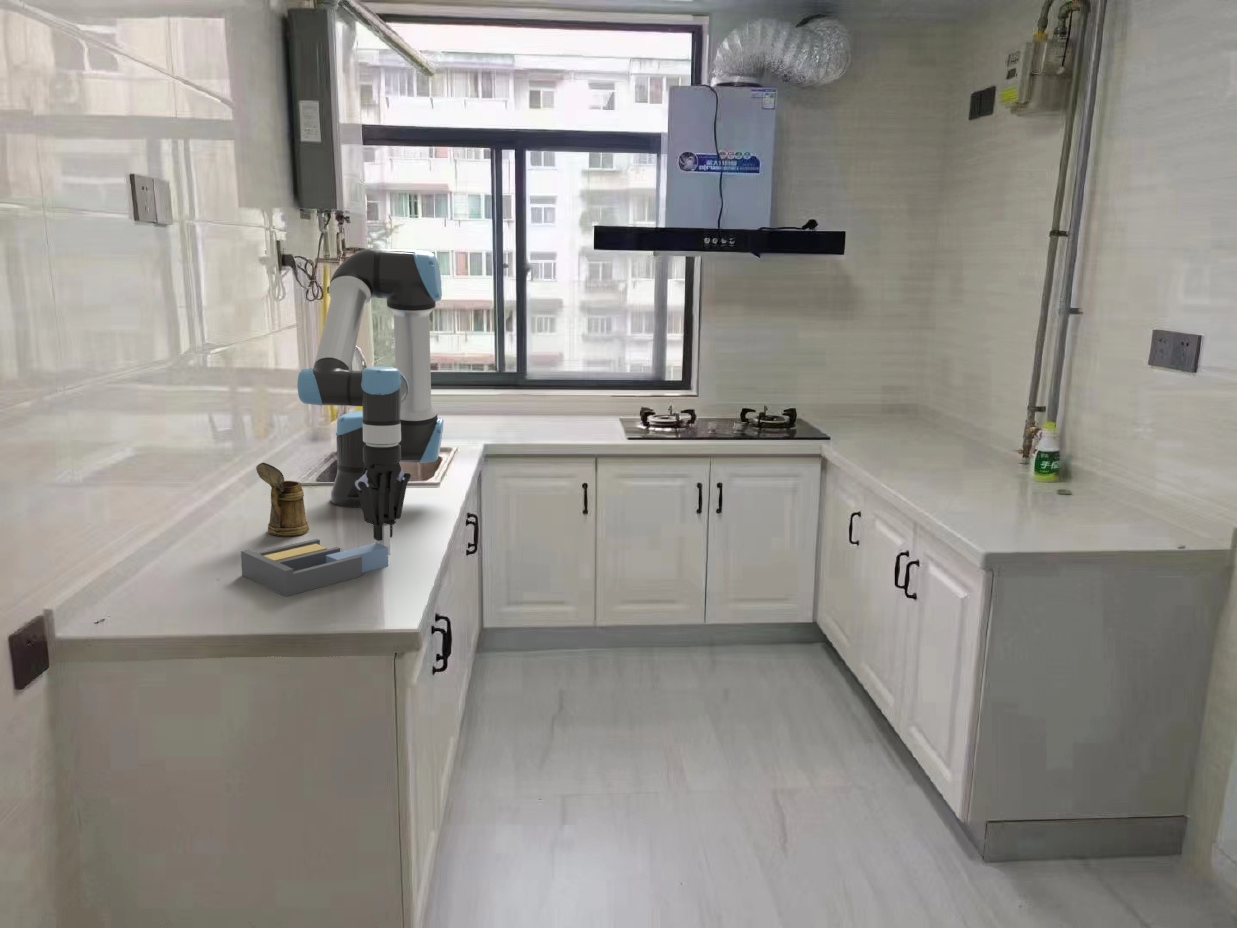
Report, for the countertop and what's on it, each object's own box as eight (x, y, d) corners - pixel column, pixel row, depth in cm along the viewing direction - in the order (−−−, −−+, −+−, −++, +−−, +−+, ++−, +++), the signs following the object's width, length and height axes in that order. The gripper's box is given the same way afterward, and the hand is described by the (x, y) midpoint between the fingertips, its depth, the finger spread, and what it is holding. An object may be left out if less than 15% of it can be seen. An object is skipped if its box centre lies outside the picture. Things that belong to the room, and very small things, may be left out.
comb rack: (316, 556, 190) (316, 534, 189) (362, 575, 180) (361, 551, 179) (242, 575, 177) (240, 550, 176) (286, 596, 168) (285, 570, 166)
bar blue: (376, 561, 189) (376, 542, 188) (388, 565, 187) (387, 547, 186) (326, 574, 180) (325, 555, 179) (337, 579, 178) (337, 560, 177)
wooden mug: (247, 540, 199) (243, 460, 195) (282, 524, 212) (279, 449, 208) (283, 544, 197) (280, 464, 193) (316, 527, 210) (314, 452, 206)
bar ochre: (316, 561, 188) (316, 543, 187) (327, 566, 185) (327, 548, 184) (262, 575, 179) (261, 556, 178) (273, 580, 176) (272, 560, 175)
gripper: (396, 436, 191) (397, 543, 196) (343, 444, 181) (345, 556, 186) (419, 442, 186) (419, 551, 191) (366, 450, 176) (368, 565, 181)
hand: (383, 553), depth 188 cm, fingers closed
